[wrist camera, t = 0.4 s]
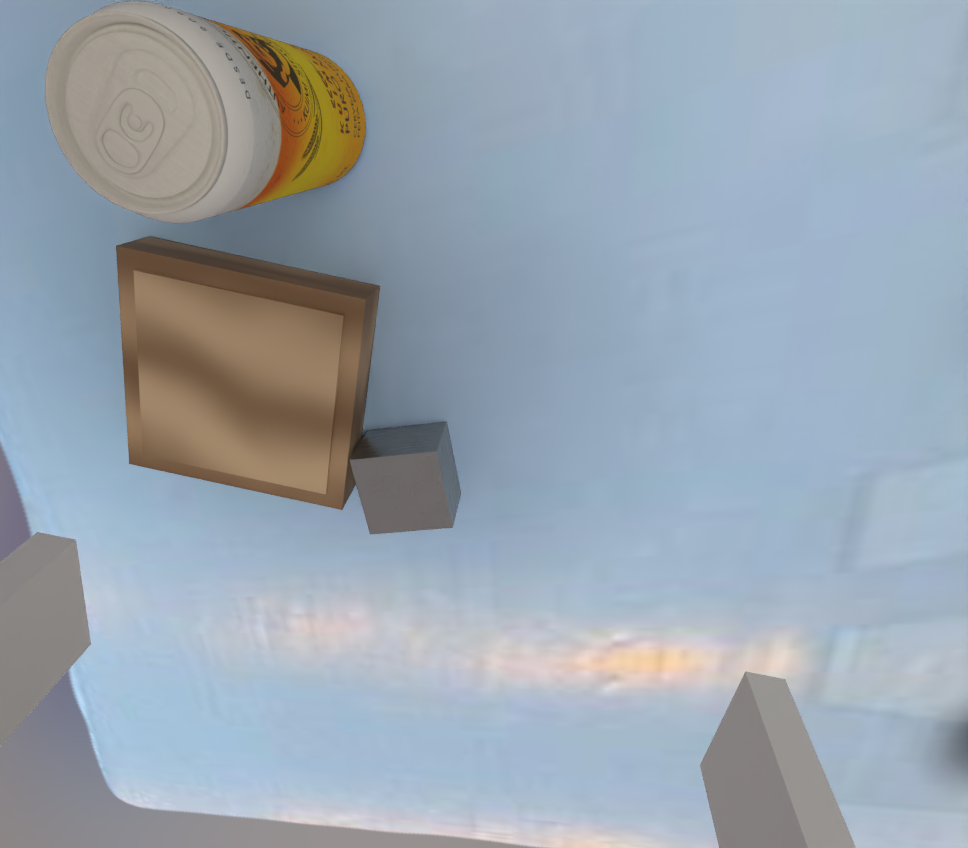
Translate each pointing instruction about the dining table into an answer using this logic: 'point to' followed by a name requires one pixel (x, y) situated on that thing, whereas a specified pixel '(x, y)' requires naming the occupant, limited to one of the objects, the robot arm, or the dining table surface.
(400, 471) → the steel block
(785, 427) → the dining table surface
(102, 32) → the beer can
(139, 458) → the plinth
